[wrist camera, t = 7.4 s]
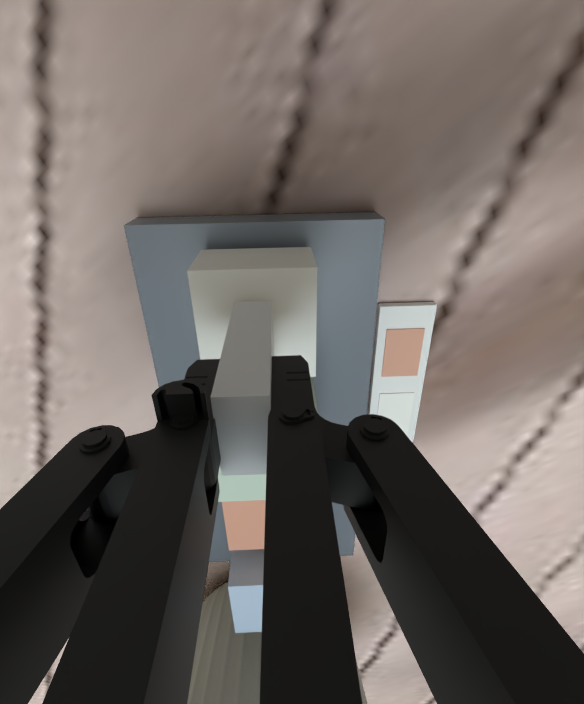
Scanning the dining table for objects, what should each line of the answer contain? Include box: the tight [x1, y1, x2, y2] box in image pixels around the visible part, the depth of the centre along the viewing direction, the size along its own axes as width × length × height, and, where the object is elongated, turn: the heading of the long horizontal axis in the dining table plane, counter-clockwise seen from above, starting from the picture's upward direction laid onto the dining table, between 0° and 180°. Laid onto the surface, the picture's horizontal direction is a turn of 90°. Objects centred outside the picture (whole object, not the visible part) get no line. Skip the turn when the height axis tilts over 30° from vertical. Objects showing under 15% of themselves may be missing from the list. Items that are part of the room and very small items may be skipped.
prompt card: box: [368, 302, 437, 443], centre depth 26 cm, size 15×3×1 cm, turn 1°
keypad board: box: [124, 212, 385, 562], centre depth 24 cm, size 25×12×4 cm, turn 1°
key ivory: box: [187, 247, 317, 377], centre depth 18 cm, size 5×5×3 cm
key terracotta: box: [222, 500, 266, 551], centre depth 23 cm, size 5×5×3 cm
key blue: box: [228, 549, 264, 633], centre depth 25 cm, size 5×5×3 cm
